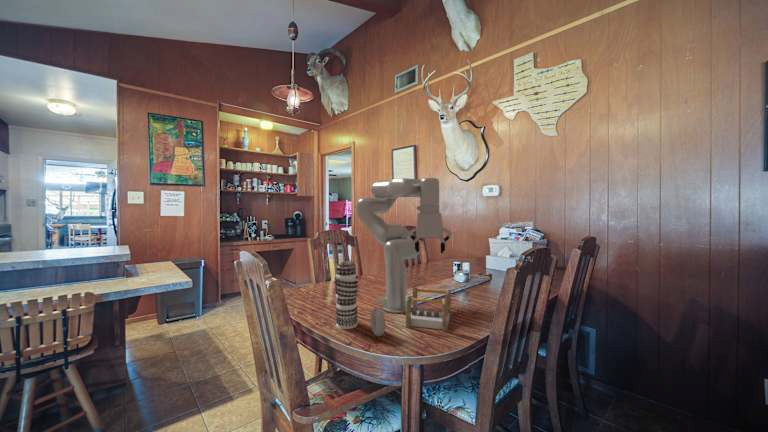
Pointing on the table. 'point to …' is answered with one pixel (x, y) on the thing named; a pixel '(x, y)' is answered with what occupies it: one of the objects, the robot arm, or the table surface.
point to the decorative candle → (346, 295)
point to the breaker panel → (427, 318)
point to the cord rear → (431, 291)
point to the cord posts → (445, 309)
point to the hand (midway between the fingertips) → (429, 252)
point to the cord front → (426, 300)
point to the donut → (377, 322)
